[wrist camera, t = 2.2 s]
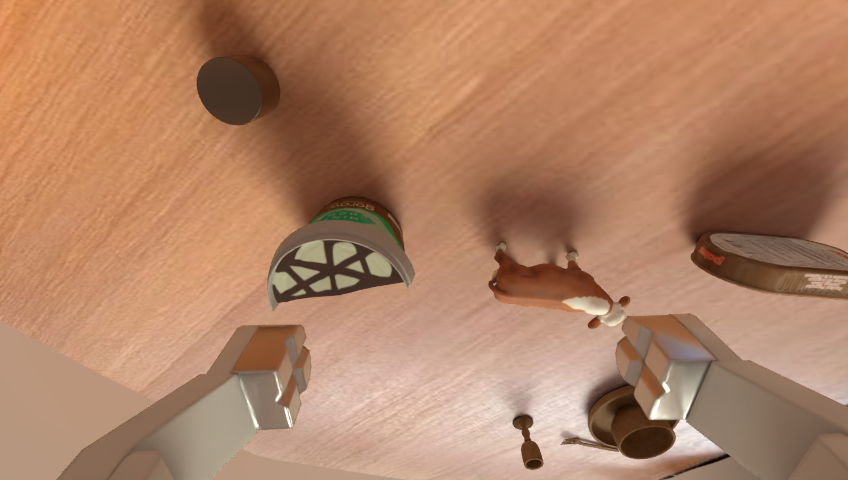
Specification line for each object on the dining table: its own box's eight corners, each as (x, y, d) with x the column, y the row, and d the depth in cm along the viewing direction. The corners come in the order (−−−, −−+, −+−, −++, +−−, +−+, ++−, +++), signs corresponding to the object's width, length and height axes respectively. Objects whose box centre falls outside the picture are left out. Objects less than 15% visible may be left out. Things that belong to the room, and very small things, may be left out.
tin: (672, 249, 39) (730, 298, 31) (684, 221, 37) (749, 266, 30) (808, 260, 39) (897, 310, 32) (825, 234, 38) (923, 280, 31)
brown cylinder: (214, 55, 30) (187, 57, 27) (273, 54, 30) (253, 56, 27) (230, 116, 32) (207, 126, 29) (285, 115, 32) (268, 124, 29)
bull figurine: (592, 289, 41) (627, 341, 34) (476, 267, 40) (488, 316, 33) (610, 256, 39) (651, 305, 32) (489, 231, 38) (504, 276, 31)
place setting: (628, 455, 56) (649, 497, 51) (507, 428, 53) (517, 470, 48) (705, 377, 48) (739, 418, 43) (568, 341, 45) (587, 380, 40)
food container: (403, 173, 35) (396, 218, 26) (416, 230, 38) (414, 288, 29) (280, 197, 36) (233, 247, 27) (302, 251, 39) (266, 312, 30)
